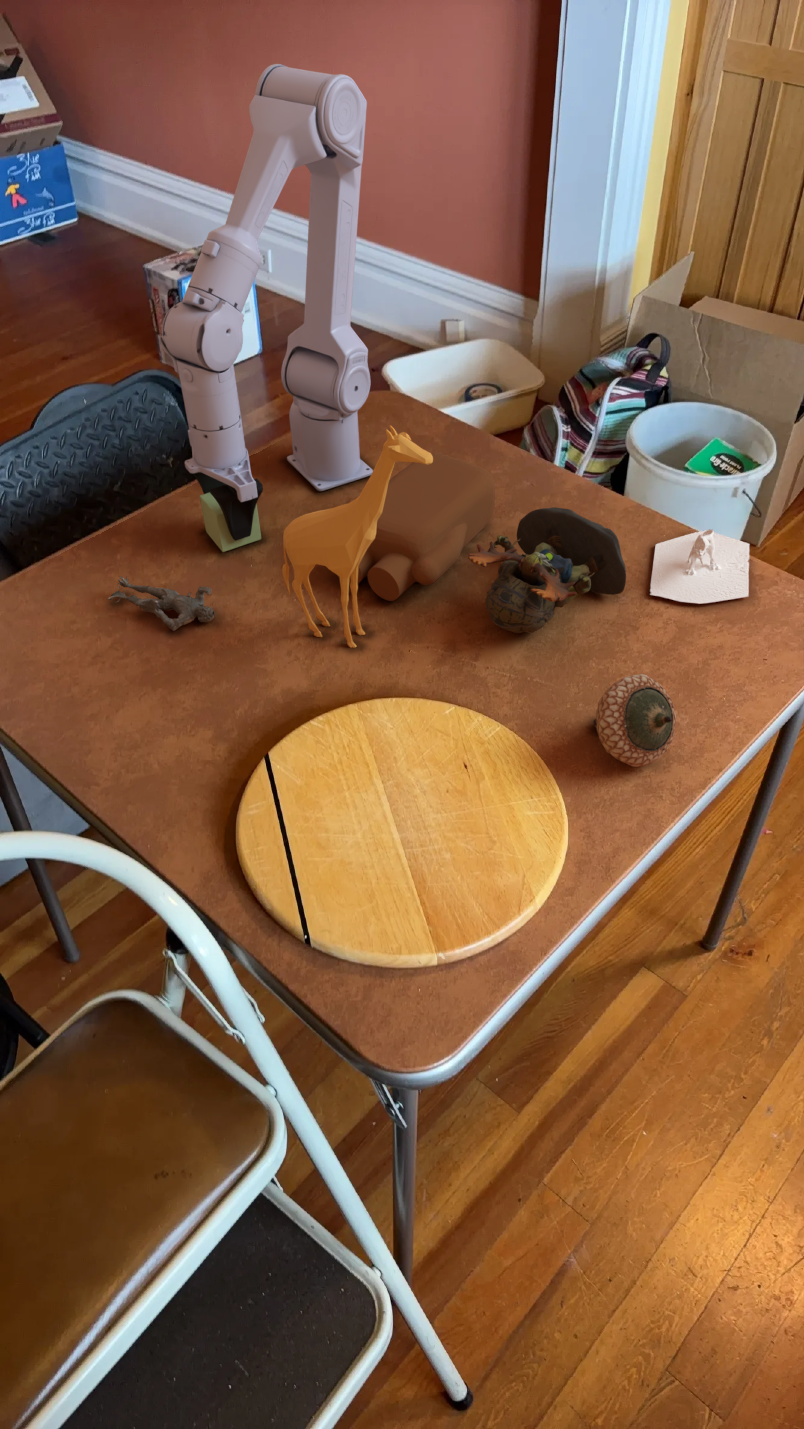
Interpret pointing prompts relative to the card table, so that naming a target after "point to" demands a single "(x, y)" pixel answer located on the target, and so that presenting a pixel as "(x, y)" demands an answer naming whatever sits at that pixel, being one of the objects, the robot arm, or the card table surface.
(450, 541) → the toy
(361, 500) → the giraffe
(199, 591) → the figurine
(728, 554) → the dinosaur figurine
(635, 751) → the acorn
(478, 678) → the card table surface
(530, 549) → the figurine
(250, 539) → the felt cube
